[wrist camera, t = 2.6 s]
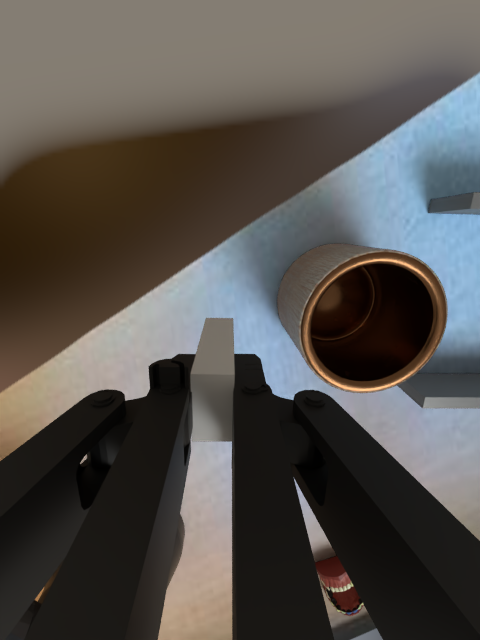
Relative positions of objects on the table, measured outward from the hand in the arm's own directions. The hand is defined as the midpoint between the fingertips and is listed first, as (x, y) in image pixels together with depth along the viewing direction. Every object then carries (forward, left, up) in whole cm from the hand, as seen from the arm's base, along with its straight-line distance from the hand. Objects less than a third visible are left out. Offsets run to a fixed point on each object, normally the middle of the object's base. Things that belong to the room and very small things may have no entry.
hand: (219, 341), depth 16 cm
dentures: (+17, -40, -14) cm, 45 cm away
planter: (+11, 0, -14) cm, 17 cm away
